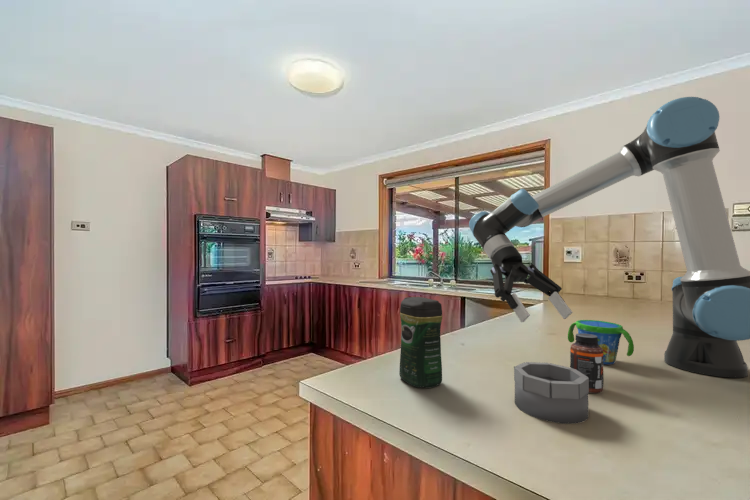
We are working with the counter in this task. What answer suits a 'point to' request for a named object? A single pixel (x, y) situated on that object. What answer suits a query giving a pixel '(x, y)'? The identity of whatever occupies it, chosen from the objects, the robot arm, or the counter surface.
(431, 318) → the coffee jar
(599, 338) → the snack cup
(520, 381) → the octagonal grey sleeve
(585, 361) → the supplement bottle
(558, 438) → the counter surface
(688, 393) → the counter surface
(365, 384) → the counter surface
